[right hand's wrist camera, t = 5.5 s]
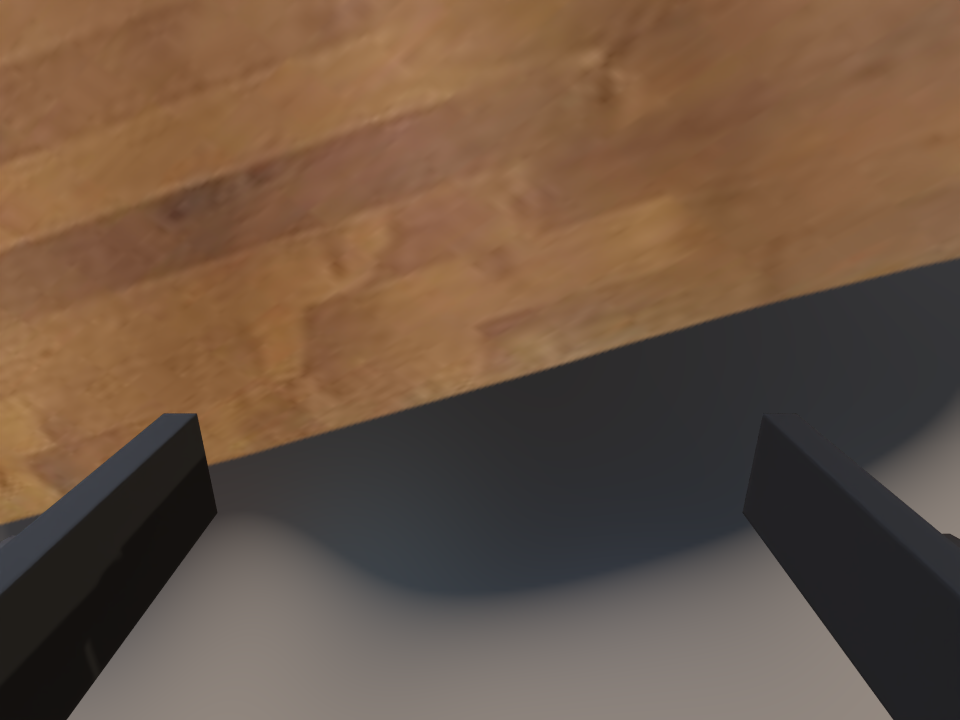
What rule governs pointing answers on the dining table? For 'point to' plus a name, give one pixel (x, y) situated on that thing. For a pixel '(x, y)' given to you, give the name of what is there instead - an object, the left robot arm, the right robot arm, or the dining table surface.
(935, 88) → the dining table surface
